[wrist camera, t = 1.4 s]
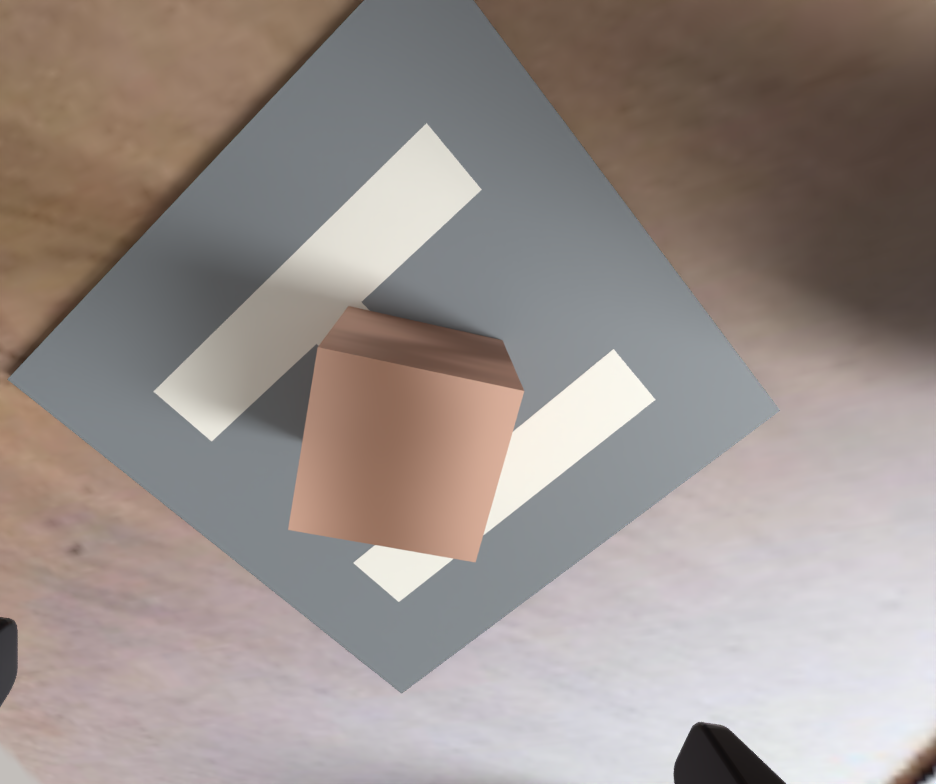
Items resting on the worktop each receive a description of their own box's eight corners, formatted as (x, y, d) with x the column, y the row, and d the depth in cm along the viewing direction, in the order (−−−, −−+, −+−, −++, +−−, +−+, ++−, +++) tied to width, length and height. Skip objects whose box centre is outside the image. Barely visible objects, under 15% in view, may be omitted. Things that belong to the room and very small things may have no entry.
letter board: (773, 406, 21) (780, 410, 20) (402, 685, 24) (401, 693, 24) (425, -59, 16) (424, -65, 15) (16, 375, 19) (7, 379, 19)
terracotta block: (502, 340, 19) (524, 391, 14) (466, 476, 20) (475, 562, 16) (348, 305, 18) (317, 346, 14) (323, 448, 20) (288, 530, 15)
